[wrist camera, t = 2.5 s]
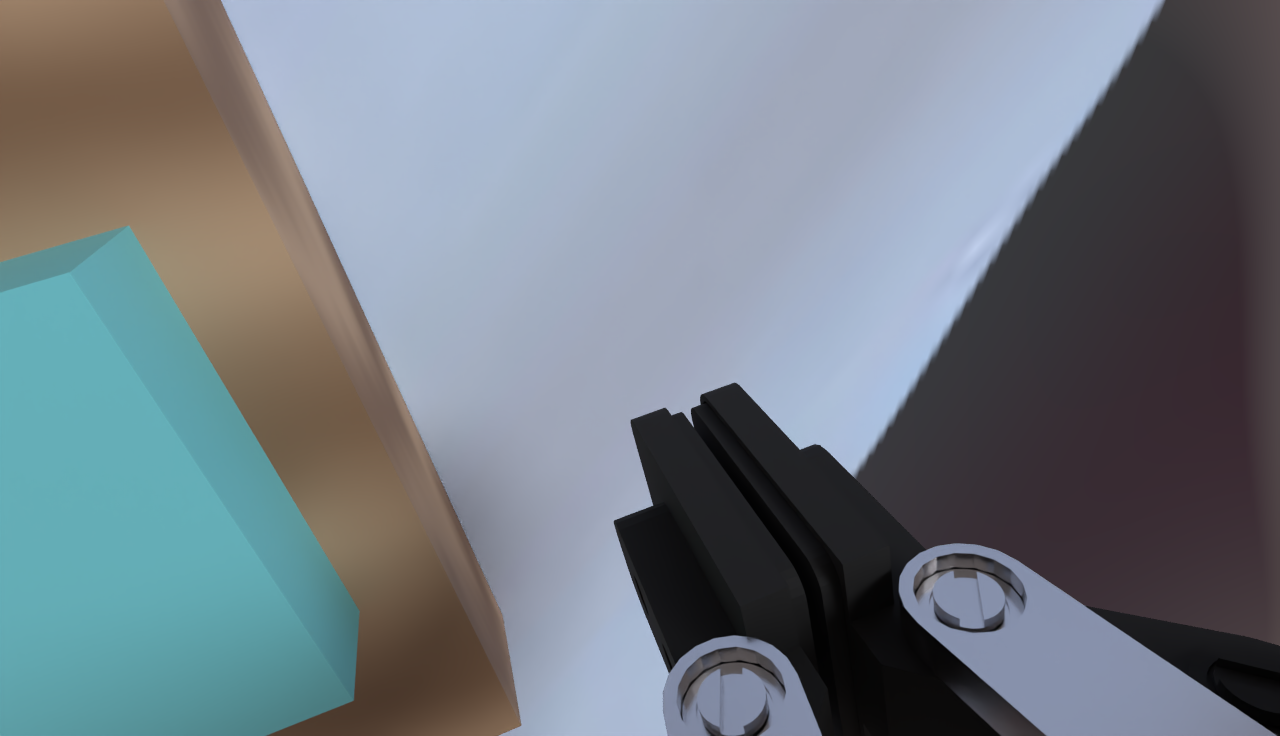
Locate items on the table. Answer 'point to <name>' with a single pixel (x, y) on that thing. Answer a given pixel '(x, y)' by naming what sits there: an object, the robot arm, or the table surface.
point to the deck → (256, 324)
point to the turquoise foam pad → (145, 523)
